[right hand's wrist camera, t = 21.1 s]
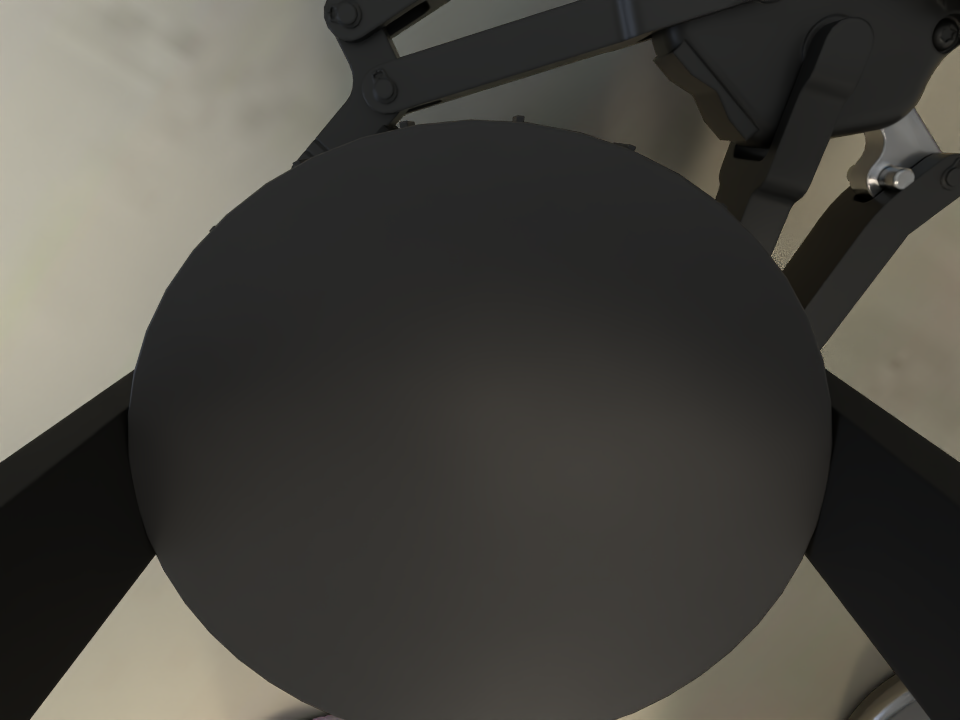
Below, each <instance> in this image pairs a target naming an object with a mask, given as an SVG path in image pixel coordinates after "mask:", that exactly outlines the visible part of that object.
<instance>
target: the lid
mask: <svg viewBox="0 0 960 720" xmlns="http://www.w3.org/2000/svg"><path fill="white" fill-rule="evenodd" d="M399 124H400V129H396V130H391V131H387V132H383V133H379V134H375V135H370V136H366V137H362V138H359V139H357V140H354V141H352V142H349V143H347V144H344V145H342V146H339V147H337V148H334V149H332V150H329V151H326V152H324V153H321V154H319V155H316V156H314V157H311V158H306V159H300V160H297V161H295V162H294V163H293V165H294V168H292V169H290V170H289V171H287V172H285V173H283V174H282V175H280V176H278V177H276V178H275V179H273V180H271V181H269V182H268V183H266V184H265V185H263V186H262V187H261V188H260V189H258V190H257V191H256V192H255V193H253V194H252V195H251V196H250V197H248V198H247V199H246V200H244V201H243V202H242V203H241V204H239V205H238V206H237V207H236V208H234V209H233V210H232V211H230V212H229V213H228V214H227V215H226V216H225V217H224V218H223V219H222V220H221V221H220V222H219V223H218V224H217V225H216V226H213V227H212V228H211V230H210V231H209V232H210V233H209V234H208V235H207V236H206V237H205V238H204V239H203V240H202V241H201V242H200V243H199V244H198V245H197V247H196V248H195V249H194V250H193V251H192V252H191V254H190V255H189V257H188V258H187V260H186V261H185V263H184V264H183V265H182V267H181V268H180V270H179V271H178V273H177V274H176V276H175V277H174V279H173V280H172V281H171V283H170V284H169V286H168V287H167V289H166V291H165V293H164V295H163V297H162V299H161V301H160V303H159V305H158V307H157V309H156V311H155V314H154V316H153V318H152V320H151V322H150V324H149V326H148V328H147V330H146V333H145V337H144V340H143V343H142V347H141V350H140V353H139V357H138V360H137V363H136V367H135V370H134V374H133V381H132V388H131V396H130V403H129V410H128V458H129V464H130V469H131V474H132V479H133V484H134V489H135V494H136V499H137V503H138V507H139V511H140V515H141V518H142V521H143V524H144V527H145V530H146V534H147V536H148V538H149V540H150V543H151V545H152V547H153V549H154V551H155V553H156V555H157V557H158V559H159V561H160V564H161V566H162V568H163V570H164V572H165V573H166V575H167V576H168V578H169V579H170V581H171V582H172V584H173V585H174V587H175V589H176V590H177V592H178V593H179V595H180V596H181V598H182V599H183V601H184V602H185V604H186V605H187V606H188V607H189V609H190V610H191V611H192V612H193V613H194V615H195V616H196V617H197V618H198V619H199V620H200V622H201V623H202V624H203V625H204V626H205V628H206V629H207V630H208V631H209V632H210V633H211V634H212V635H213V636H214V637H215V638H216V639H217V640H218V641H219V642H220V643H221V644H222V645H223V646H224V647H226V648H227V649H228V650H229V651H230V652H231V653H232V654H233V655H234V656H235V657H236V658H237V659H238V660H240V661H241V662H243V663H244V664H245V665H247V666H248V667H249V668H251V669H252V670H253V671H255V672H256V673H257V674H259V675H260V676H261V677H263V678H264V679H265V680H267V681H268V682H270V683H271V684H273V685H275V686H276V687H278V688H280V689H282V690H283V691H285V692H287V693H288V694H290V695H292V696H293V697H295V698H297V699H299V700H300V701H302V702H304V703H306V704H309V705H311V706H313V707H315V708H318V709H320V710H322V711H324V712H326V713H329V714H331V715H333V716H335V717H338V718H341V719H344V720H616V719H619V718H621V717H624V716H627V715H630V714H632V713H635V712H637V711H639V710H641V709H643V708H645V707H647V706H649V705H651V704H653V703H655V702H657V701H659V700H661V699H663V698H665V697H667V696H669V695H671V694H672V693H674V692H676V691H677V690H679V689H680V688H682V687H683V686H685V685H687V684H688V683H690V682H691V681H693V680H694V679H696V678H698V677H699V676H701V675H702V674H703V673H705V672H706V671H707V670H708V669H710V668H711V667H712V666H713V665H715V664H716V663H717V662H718V661H720V660H721V659H722V658H723V657H725V656H726V655H727V654H728V653H730V652H731V651H732V650H733V649H734V648H735V647H736V646H737V645H738V644H739V643H740V642H741V641H742V640H743V639H744V638H745V637H746V636H747V635H748V634H749V633H750V632H751V631H752V630H753V629H754V628H755V627H756V626H757V625H758V624H759V622H760V621H761V620H762V619H763V617H764V616H765V615H766V613H767V612H768V611H769V610H770V608H771V607H772V606H773V604H774V603H775V602H776V601H777V599H778V598H779V597H780V595H781V594H782V593H783V591H784V589H785V588H786V586H787V584H788V583H789V581H790V579H791V578H792V576H793V574H794V572H795V571H796V569H797V567H798V566H799V564H800V562H801V561H802V559H803V556H804V554H805V552H806V549H807V547H808V545H809V542H810V540H811V537H812V535H813V533H814V530H815V528H816V526H817V523H818V519H819V516H820V512H821V508H822V504H823V500H824V495H825V491H826V487H827V482H828V477H829V470H830V462H831V453H832V445H833V442H832V411H831V399H830V393H829V388H828V383H827V377H826V372H825V367H824V361H823V358H822V355H821V352H820V349H819V346H818V344H817V341H816V338H815V335H814V332H813V329H812V327H811V324H810V321H809V318H808V316H807V314H806V312H805V310H804V309H803V307H802V305H801V303H800V301H799V299H798V298H797V296H796V294H795V292H794V290H793V288H792V286H791V285H790V283H789V281H788V279H787V277H786V276H785V274H784V273H783V272H782V271H781V269H780V268H779V267H778V265H777V264H776V263H775V261H774V260H773V259H772V257H771V256H770V255H769V253H768V252H767V251H766V249H765V248H764V247H763V246H762V244H761V243H760V242H759V240H758V239H757V238H756V237H755V236H754V235H753V234H752V233H751V232H750V231H749V230H748V229H747V228H746V227H745V226H744V225H743V224H742V223H741V222H740V221H738V220H737V219H736V218H735V217H734V216H733V215H732V214H731V213H730V212H729V211H728V210H727V208H728V207H727V206H726V205H725V204H723V203H721V202H718V201H716V200H715V199H714V198H712V197H711V196H709V195H708V194H707V193H705V192H704V191H702V190H701V189H700V188H698V187H697V186H695V185H694V184H693V183H691V182H690V181H688V180H687V179H686V178H684V177H683V176H681V175H680V174H678V173H676V172H674V171H672V170H670V169H668V168H666V167H664V166H662V165H660V164H659V163H657V162H655V161H653V160H651V159H649V158H647V157H645V156H643V155H641V154H639V153H637V152H635V149H636V147H635V146H633V145H630V144H622V143H614V144H613V143H610V142H607V141H604V140H601V139H598V138H595V137H593V136H590V135H587V134H584V133H581V132H575V131H570V130H565V129H560V128H554V127H549V126H544V125H539V124H533V123H528V122H524V116H518V115H517V116H515V117H513V121H512V122H511V121H490V120H461V121H451V122H440V123H429V124H418V125H415V122H412V121H403V122H399Z"/></svg>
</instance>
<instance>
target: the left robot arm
mask: <svg viewBox="0 0 960 720" xmlns="http://www.w3.org/2000/svg"><path fill="white" fill-rule="evenodd" d="M449 1H450V0H327V1H326V3H325V6H324V18H325V21H326V24H327V26H328V28H329V29H330V31H331V32H332V33H333V34H334V35H335V37H336V39H337V41H338V43H339V45H340V47H341V49H342V51H343V53H344V55H345V57H346V59H347V61H348V63H349V65H350V68H351V70H352V75H353V88H352V91H351V94H350V96H349V98H348V100H347V101H346V102H345V104H344V105H343V106H342V107H341V108H340V110H339V111H338V112H337V113H336V114H335V116H334V117H333V118H332V119H331V120H330V122H329V123H328V124H327V125H326V126H325V128H324V129H323V130H322V131H321V132H320V134H319V135H318V136H317V137H316V139H315V140H314V141H313V142H312V143H311V144H310V146H309V147H308V148H307V149H306V151H305V152H304V153H303V154H302V155H301V156H300V157H299V159H298V160H300V159H306V158H311V157H314V156H316V155H319V154H321V153H324V152H326V151H329V150H332V149H334V148H337V147H339V146H342V145H344V144H347V143H349V142H352V141H354V140H357V139H359V138H362V137H366V136H370V135H375V134H379V133H383V132H387V131H391V130H396V129H399V128H398V127H397V126H395V125H396V124H397V123H398V121H399V120H400V119H401V118H402V117H403V116H405V114H408V113H411V112H415V111H418V110H421V109H424V108H428V107H431V106H434V105H437V104H441V103H444V102H447V101H450V100H453V99H457V98H460V97H463V96H466V95H470V94H473V93H476V92H479V91H483V90H486V89H489V88H492V87H496V86H499V85H502V84H505V83H508V82H512V81H515V80H518V79H521V78H525V77H528V76H531V75H534V74H538V73H541V72H544V71H547V70H550V69H554V68H557V67H560V66H563V65H567V64H570V63H573V62H576V61H580V60H583V59H586V58H589V57H592V56H596V55H599V54H602V53H606V52H611V51H615V50H618V49H621V48H625V47H628V46H631V45H634V44H638V43H641V42H644V41H647V40H651V39H652V42H653V46H654V50H655V52H656V55H657V57H656V58H655V59H654V60H653V61H654V62H655V64H656V65H657V66H658V67H659V68H660V69H661V71H662V72H663V73H664V74H665V75H666V77H667V78H668V79H669V80H670V81H671V82H673V83H675V84H676V85H678V86H679V87H681V88H682V89H684V90H685V91H687V92H688V93H690V94H691V95H692V96H693V97H694V99H695V102H696V104H697V106H698V108H699V111H700V113H701V115H702V117H703V120H704V121H705V123H706V124H707V125H708V126H709V127H710V129H711V130H712V131H713V132H714V133H715V134H716V136H717V137H718V138H719V139H720V140H729V141H730V145H729V147H728V150H727V153H726V156H725V158H724V161H723V164H722V166H721V170H720V175H719V180H720V187H719V191H718V193H717V196H716V199H715V200H716V201H718V202H721V203H723V204H725V205H726V206H727V207H728V208H727V210H728V211H729V212H730V213H731V214H732V215H733V216H734V217H735V218H736V219H737V220H738V221H740V222H741V223H742V224H743V225H744V226H745V227H746V228H747V229H748V230H749V231H750V232H751V233H752V234H753V235H754V236H755V237H756V238H757V239H758V240H759V242H760V243H761V244H762V246H763V247H764V248H765V249H766V251H767V252H768V253H769V255H770V256H771V255H772V252H773V250H774V247H775V245H776V243H777V240H778V238H779V235H780V233H781V231H782V228H783V226H784V223H785V221H786V219H787V216H788V214H789V211H790V209H791V207H792V206H793V204H794V203H795V202H796V201H798V200H799V199H800V198H802V197H803V196H804V194H805V193H806V192H807V190H808V188H809V186H810V184H811V182H812V180H813V177H814V175H815V172H816V170H817V168H818V165H819V163H820V161H821V158H822V156H823V154H824V151H825V149H826V146H827V144H828V142H829V139H830V138H836V137H841V136H847V135H853V134H858V133H864V135H865V139H866V145H865V150H864V152H863V154H862V156H861V157H860V159H859V160H858V161H857V162H856V164H855V165H853V166H851V167H850V168H849V170H848V172H847V179H848V181H849V182H850V187H848V188H847V189H846V190H845V191H844V192H843V193H841V194H840V195H839V197H838V198H837V199H836V200H835V201H834V202H833V203H832V204H831V205H830V206H829V207H828V209H827V210H826V211H825V212H824V214H823V215H822V216H821V217H820V219H819V220H818V222H817V223H816V224H815V226H814V227H813V229H812V230H811V231H810V233H809V234H808V236H807V237H806V239H805V240H804V241H803V243H802V244H801V246H800V247H799V248H798V250H797V251H796V253H795V254H794V255H793V257H792V258H791V260H790V261H789V262H788V264H787V265H786V267H785V268H784V270H783V271H782V272H783V273H784V274H785V276H786V277H787V279H788V281H789V283H790V285H791V286H792V288H793V290H794V292H795V294H796V296H797V298H798V299H799V301H800V303H801V305H802V307H803V309H804V310H805V312H806V314H807V316H808V318H809V321H810V324H811V327H812V329H813V332H814V335H815V338H816V341H817V344H818V346H819V349H820V350H821V348H822V347H823V346H824V345H825V343H826V342H827V341H828V339H829V338H830V337H831V335H832V334H833V333H834V331H835V330H836V329H837V328H838V326H839V325H840V324H841V322H842V321H843V320H844V318H845V317H846V316H847V314H848V313H849V312H850V310H851V309H852V308H853V307H854V305H855V304H856V303H857V301H858V300H859V299H860V297H861V296H862V295H863V293H864V292H865V291H866V290H867V288H868V287H869V286H870V284H871V283H872V282H873V280H874V279H875V278H876V276H877V275H878V274H879V272H880V271H881V270H882V269H883V267H884V266H885V265H886V263H887V262H888V261H889V259H890V258H891V257H892V255H893V254H894V253H895V252H896V250H897V249H898V248H899V246H900V245H901V244H902V242H903V241H904V240H905V238H906V237H907V236H908V235H909V234H910V233H911V232H913V231H914V230H915V229H917V228H918V227H919V226H921V225H922V224H923V223H925V222H926V221H927V220H929V219H930V218H931V217H933V216H934V215H935V214H937V213H938V212H939V211H941V210H942V209H943V208H945V207H946V206H948V205H949V204H950V203H952V202H953V201H954V200H956V199H957V198H958V197H960V154H959V153H943V152H942V151H941V150H940V149H939V147H938V145H937V144H936V142H935V140H934V139H933V137H932V136H931V134H930V132H929V131H928V129H927V127H926V126H925V124H924V122H923V121H922V119H921V118H920V116H919V114H918V113H917V111H916V109H915V108H914V107H915V106H916V104H917V103H918V101H919V100H920V98H921V96H922V94H923V92H924V90H925V87H926V85H927V83H928V81H929V79H930V77H931V76H932V74H933V72H934V71H935V69H936V68H937V67H938V65H939V64H940V63H941V61H942V60H943V59H944V58H945V57H946V56H947V55H948V54H949V53H950V52H951V51H952V50H954V49H955V48H956V47H958V46H959V45H960V0H579V1H576V2H573V3H570V4H567V5H563V6H560V7H557V8H554V9H551V10H548V11H545V12H541V13H538V14H535V15H532V16H529V17H526V18H523V19H519V20H516V21H513V22H510V23H507V24H504V25H501V26H497V27H494V28H491V29H488V30H485V31H482V32H479V33H476V34H472V35H469V36H466V37H463V38H460V39H457V40H454V41H450V42H447V43H444V44H441V45H438V46H435V47H432V48H428V49H425V50H422V51H419V52H416V53H413V54H410V55H406V56H403V57H400V56H399V54H398V52H397V50H396V47H395V45H394V43H393V41H392V38H394V37H395V36H397V35H398V34H400V33H401V32H403V31H404V30H406V29H407V28H409V27H410V26H412V25H414V24H415V23H417V22H418V21H420V20H421V19H423V18H424V17H426V16H427V15H429V14H430V13H432V12H434V11H435V10H437V9H438V8H440V7H441V6H443V5H444V4H446V3H447V2H449ZM292 168H294V165H293V166H292ZM292 168H291V169H292ZM848 720H931V719H930V718H929V717H928V716H927V714H926V713H925V712H924V710H923V709H922V708H921V706H920V705H919V704H918V702H917V701H916V700H915V698H914V697H913V696H912V695H911V693H910V692H909V691H908V689H907V688H906V687H905V685H904V684H903V683H902V681H901V680H900V679H899V677H898V676H897V675H896V674H895V675H894V676H892V677H891V678H889V679H888V680H886V681H885V682H884V683H882V684H881V685H880V686H879V687H877V688H876V689H875V690H874V691H873V692H872V693H870V694H869V695H868V696H867V697H866V698H865V699H864V700H863V701H862V702H861V703H860V705H859V706H858V707H857V708H856V709H855V710H854V712H853V713H852V714H851V716H850V717H849V719H848Z"/></svg>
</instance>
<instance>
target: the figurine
mask: <svg viewBox="0 0 960 720" xmlns="http://www.w3.org/2000/svg"><path fill="white" fill-rule="evenodd" d="M313 720H344V719H341V718H338V717H335V716H333V715H327V716H326V717H318V718H314V719H313Z"/></svg>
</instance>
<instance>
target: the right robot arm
mask: <svg viewBox="0 0 960 720" xmlns="http://www.w3.org/2000/svg"><path fill="white" fill-rule="evenodd" d="M134 370H135V369H134ZM134 370H133V371H132V372H130V373H129V374H127V375H126V376H124V377H123V378H121V379H120V380H119V381H117V382H116V383H114V384H113V385H111V386H110V387H109V388H107V389H106V390H104V391H103V392H101V393H100V394H98V395H97V396H96V397H94V398H93V399H91V400H90V401H88V402H87V403H86V404H84V405H83V406H81V407H80V408H78V409H77V410H75V411H74V412H73V413H71V414H70V415H68V416H67V417H65V418H64V419H63V420H61V421H60V422H58V423H57V424H55V425H54V426H52V427H51V428H50V429H48V430H47V431H45V432H44V433H42V434H41V435H40V436H38V437H37V438H35V439H34V440H32V441H31V442H29V443H28V444H27V445H25V446H24V447H22V448H21V449H19V450H18V451H17V452H15V453H14V454H12V455H11V456H9V457H8V458H6V459H5V460H4V461H2V462H1V463H0V720H30V719H31V717H32V716H33V715H34V713H35V712H36V711H37V710H38V708H39V707H40V706H41V704H42V703H43V702H44V700H45V699H46V698H47V696H48V695H49V694H50V692H51V691H52V690H53V689H54V687H55V686H56V685H57V683H58V682H59V681H60V679H61V678H62V677H63V675H64V674H65V673H66V672H67V670H68V669H69V668H70V666H71V665H72V664H73V662H74V661H75V660H76V658H77V657H78V656H79V654H80V653H81V652H82V651H83V649H84V648H85V647H86V645H87V644H88V643H89V641H90V640H91V639H92V637H93V636H94V635H95V633H96V632H97V631H98V630H99V628H100V627H101V626H102V624H103V623H104V622H105V620H106V619H107V618H108V616H109V615H110V614H111V612H112V611H113V610H114V609H115V607H116V606H117V605H118V603H119V602H120V601H121V599H122V598H123V597H124V595H125V594H126V593H127V591H128V590H129V589H130V588H131V586H132V585H133V584H134V582H135V581H136V580H137V578H138V577H139V576H140V574H141V573H142V572H143V570H144V569H145V568H146V567H147V565H148V564H149V563H150V561H151V560H152V559H153V557H154V556H155V555H156V553H155V551H154V549H153V547H152V545H151V543H150V540H149V538H148V536H147V534H146V530H145V527H144V524H143V521H142V518H141V515H140V511H139V507H138V503H137V499H136V494H135V489H134V484H133V479H132V474H131V469H130V464H129V458H128V410H129V403H130V396H131V388H132V381H133V374H134ZM825 372H826V377H827V383H828V388H829V393H830V399H831V411H832V442H833V445H832V453H831V462H830V470H829V477H828V482H827V487H826V491H825V495H824V500H823V504H822V508H821V512H820V516H819V519H818V523H817V526H816V528H815V530H814V533H813V535H812V537H811V540H810V542H809V545H808V547H807V549H806V552H805V555H806V557H807V558H808V559H809V561H810V562H811V563H812V565H813V566H814V567H815V569H816V570H817V571H818V573H819V574H820V575H821V576H822V578H823V579H824V580H825V582H826V583H827V584H828V586H829V587H830V588H831V590H832V591H833V592H834V594H835V595H836V596H837V597H838V599H839V600H840V601H841V603H842V604H843V605H844V607H845V608H846V609H847V611H848V612H849V613H850V615H851V616H852V617H853V618H854V620H855V621H856V622H857V624H858V625H859V626H860V628H861V629H862V630H863V632H864V633H865V634H866V636H867V637H868V638H869V639H870V641H871V642H872V643H873V645H874V646H875V647H876V649H877V650H878V651H879V653H880V654H881V655H882V656H883V658H884V659H885V660H886V662H887V663H888V664H889V666H890V667H891V668H892V670H893V671H894V672H895V674H896V675H897V676H898V677H899V679H900V680H901V681H902V683H903V684H904V685H905V687H906V688H907V689H908V691H909V692H910V693H911V695H912V696H913V697H914V698H915V700H916V701H917V702H918V704H919V705H920V706H921V708H922V709H923V710H924V712H925V713H926V714H927V716H928V717H929V718H930V719H931V720H960V462H958V461H957V460H955V459H954V458H953V457H951V456H950V455H948V454H947V453H945V452H944V451H943V450H941V449H940V448H938V447H937V446H935V445H934V444H932V443H931V442H930V441H928V440H927V439H925V438H924V437H922V436H921V435H920V434H918V433H917V432H915V431H914V430H912V429H911V428H909V427H908V426H907V425H905V424H904V423H902V422H901V421H899V420H898V419H897V418H895V417H894V416H892V415H891V414H889V413H888V412H886V411H885V410H884V409H882V408H881V407H879V406H878V405H876V404H875V403H874V402H872V401H871V400H869V399H868V398H866V397H865V396H863V395H862V394H861V393H859V392H858V391H856V390H855V389H853V388H852V387H850V386H849V385H848V384H846V383H845V382H843V381H842V380H840V379H839V378H838V377H836V376H835V375H833V374H832V373H830V372H829V371H827V370H826V369H825Z"/></svg>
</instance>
